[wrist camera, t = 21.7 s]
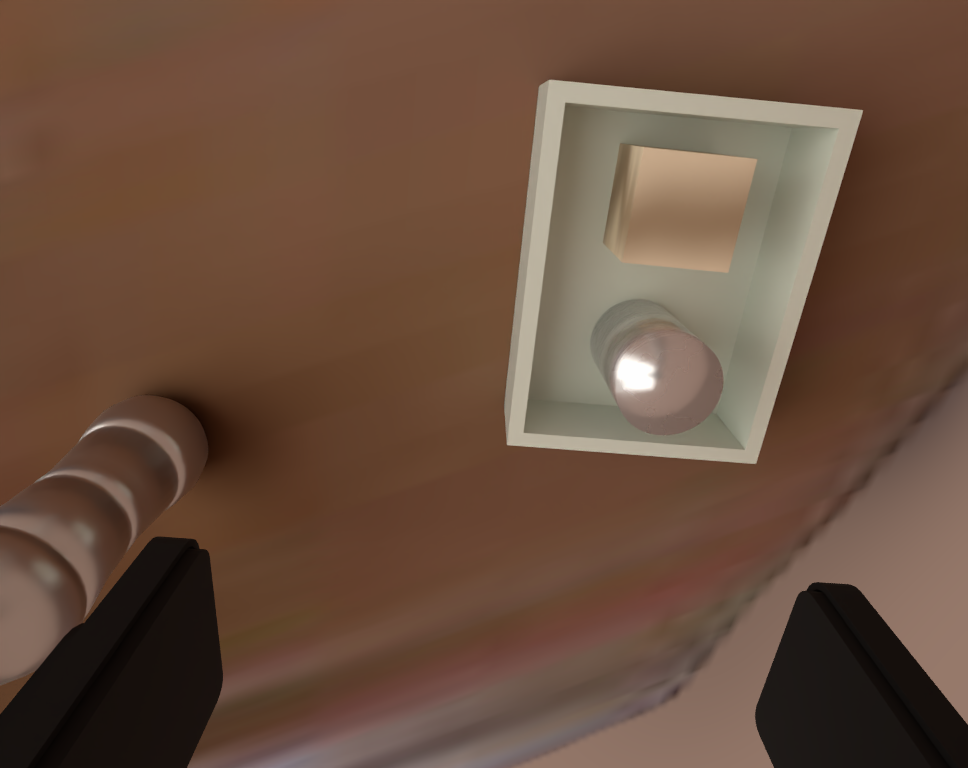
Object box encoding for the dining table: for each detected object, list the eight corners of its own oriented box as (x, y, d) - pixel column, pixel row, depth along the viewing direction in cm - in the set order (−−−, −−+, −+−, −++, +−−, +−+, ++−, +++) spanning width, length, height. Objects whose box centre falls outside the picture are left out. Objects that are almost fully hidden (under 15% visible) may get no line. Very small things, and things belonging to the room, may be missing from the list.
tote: (539, 86, 30) (549, 79, 26) (806, 112, 31) (863, 110, 26) (504, 405, 37) (506, 444, 33) (722, 422, 38) (755, 463, 33)
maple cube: (619, 143, 31) (643, 147, 26) (716, 153, 31) (757, 159, 26) (602, 242, 33) (622, 262, 28) (694, 251, 33) (728, 272, 28)
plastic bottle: (221, 392, 37) (-39, 660, 19) (219, 486, 40) (-10, 802, 21) (111, 374, 36) (-267, 631, 18) (117, 470, 39) (-208, 779, 21)
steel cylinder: (602, 291, 34) (633, 326, 27) (688, 307, 34) (738, 346, 28) (580, 374, 36) (603, 425, 29) (662, 389, 36) (703, 443, 29)
